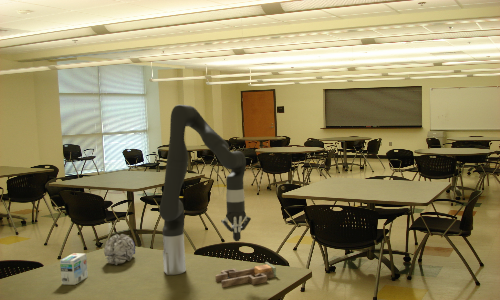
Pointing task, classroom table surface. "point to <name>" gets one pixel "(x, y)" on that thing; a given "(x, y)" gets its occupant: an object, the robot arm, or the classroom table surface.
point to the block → (262, 269)
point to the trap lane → (244, 276)
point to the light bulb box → (73, 268)
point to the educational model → (119, 249)
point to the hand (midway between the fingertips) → (236, 240)
